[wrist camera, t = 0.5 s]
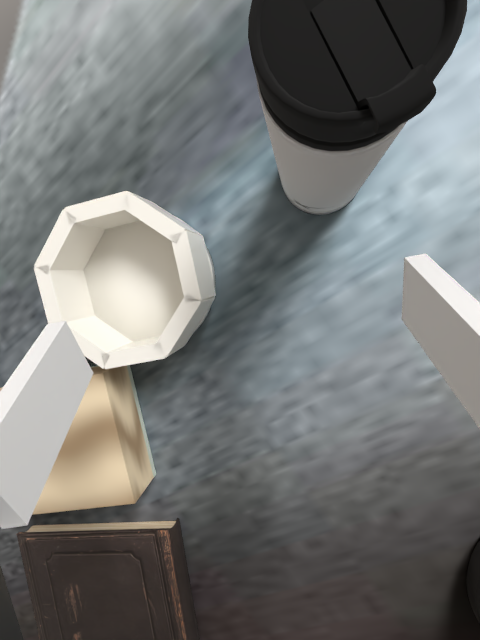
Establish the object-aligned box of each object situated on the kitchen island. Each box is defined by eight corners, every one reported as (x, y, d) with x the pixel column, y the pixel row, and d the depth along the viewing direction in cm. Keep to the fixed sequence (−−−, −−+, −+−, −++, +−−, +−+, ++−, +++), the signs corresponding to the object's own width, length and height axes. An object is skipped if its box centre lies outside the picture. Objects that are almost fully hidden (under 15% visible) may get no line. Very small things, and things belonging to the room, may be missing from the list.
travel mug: (305, 233, 31) (308, 172, 11) (267, 159, 31) (204, -35, 11) (379, 193, 30) (525, 47, 10) (340, 115, 29) (413, -190, 10)
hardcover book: (74, 716, 42) (61, 741, 40) (32, 519, 39) (16, 534, 37) (217, 726, 39) (211, 754, 37) (181, 514, 37) (173, 530, 34)
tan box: (153, 477, 35) (135, 503, 31) (48, 490, 37) (18, 516, 33) (125, 361, 34) (102, 373, 30) (18, 380, 36) (-16, 394, 32)
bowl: (228, 335, 33) (212, 349, 27) (102, 359, 35) (62, 376, 29) (198, 194, 32) (174, 177, 26) (69, 227, 34) (21, 219, 28)
